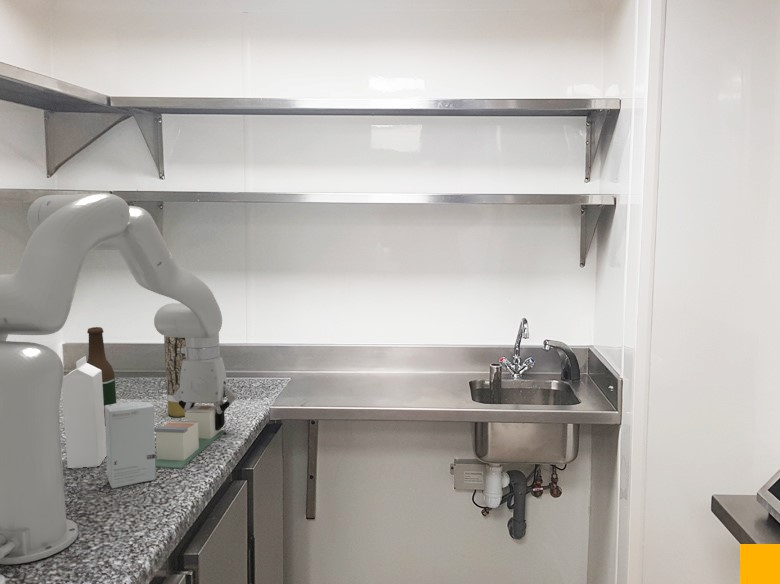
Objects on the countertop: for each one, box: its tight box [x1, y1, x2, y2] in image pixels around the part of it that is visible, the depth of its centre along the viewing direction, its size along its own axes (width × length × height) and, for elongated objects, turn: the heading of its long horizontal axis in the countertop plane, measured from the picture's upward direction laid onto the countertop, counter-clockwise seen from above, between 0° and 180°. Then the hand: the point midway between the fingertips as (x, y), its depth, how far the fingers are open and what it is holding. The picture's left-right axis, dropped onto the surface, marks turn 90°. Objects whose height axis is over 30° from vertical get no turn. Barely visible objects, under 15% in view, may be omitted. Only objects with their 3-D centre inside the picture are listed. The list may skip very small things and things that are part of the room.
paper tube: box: [163, 335, 186, 418], centre depth 161 cm, size 7×7×25 cm
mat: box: [155, 429, 226, 470], centre depth 138 cm, size 23×8×1 cm, turn 172°
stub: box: [184, 404, 222, 439], centre depth 145 cm, size 6×6×6 cm
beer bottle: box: [86, 326, 117, 417], centre depth 155 cm, size 8×8×24 cm
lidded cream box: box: [154, 420, 199, 461], centre depth 133 cm, size 7×7×7 cm
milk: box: [61, 355, 107, 469], centre depth 128 cm, size 6×6×22 cm
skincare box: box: [105, 400, 157, 489], centre depth 120 cm, size 8×6×15 cm
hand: (205, 427), depth 147 cm, fingers closed on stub, 6 cm apart
